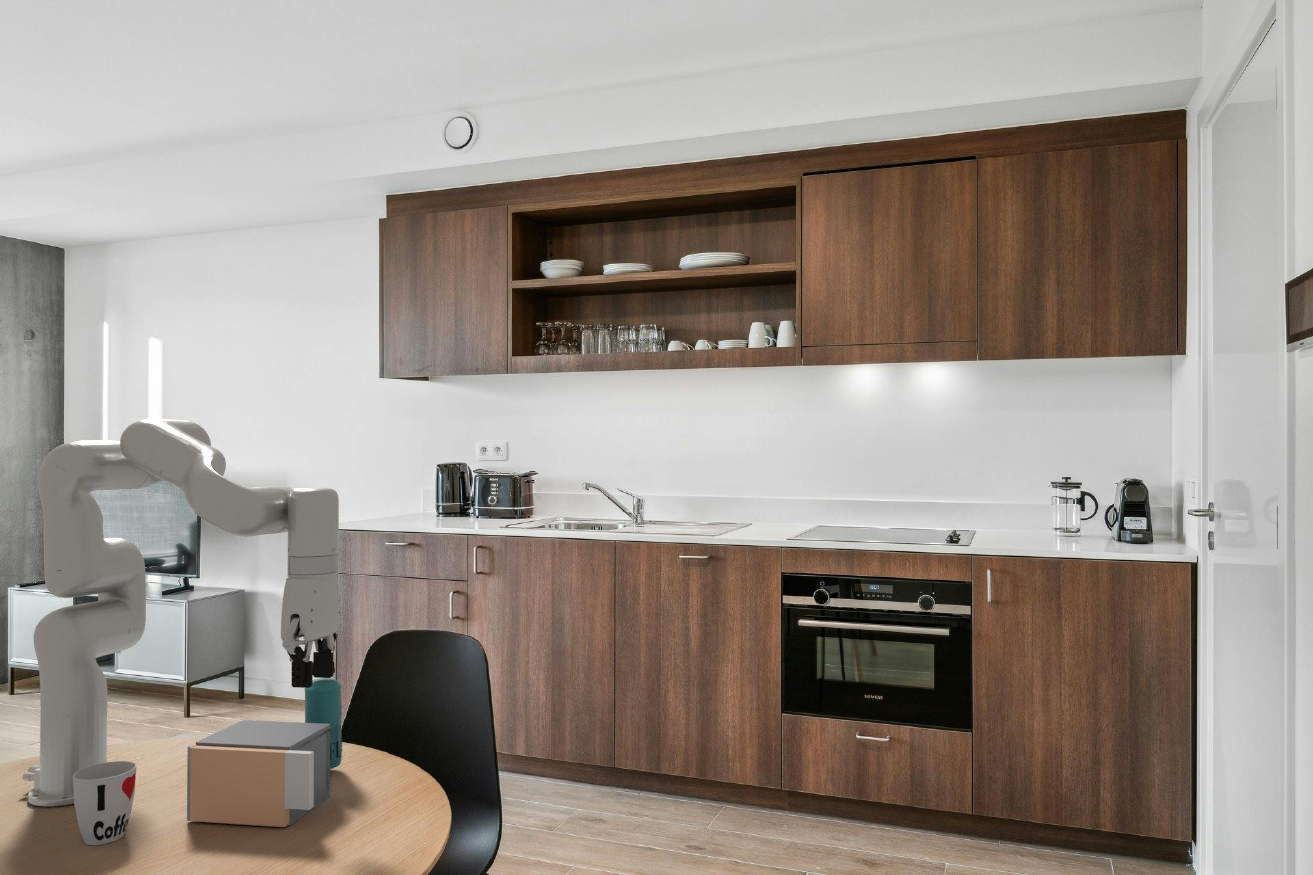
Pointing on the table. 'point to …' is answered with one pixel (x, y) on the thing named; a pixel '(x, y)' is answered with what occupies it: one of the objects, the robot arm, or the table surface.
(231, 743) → the grey smooth box
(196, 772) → the door
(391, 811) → the table surface
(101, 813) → the cup
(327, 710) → the beverage bottle
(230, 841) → the table surface
